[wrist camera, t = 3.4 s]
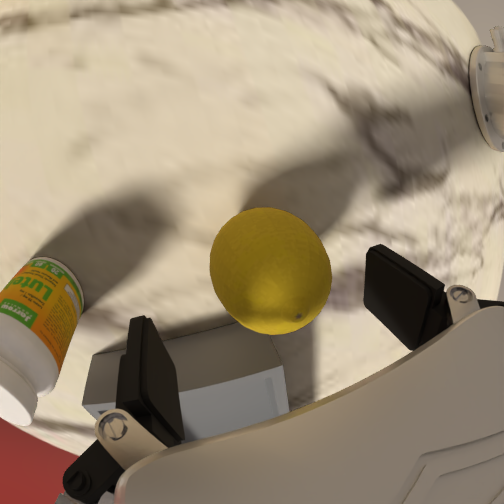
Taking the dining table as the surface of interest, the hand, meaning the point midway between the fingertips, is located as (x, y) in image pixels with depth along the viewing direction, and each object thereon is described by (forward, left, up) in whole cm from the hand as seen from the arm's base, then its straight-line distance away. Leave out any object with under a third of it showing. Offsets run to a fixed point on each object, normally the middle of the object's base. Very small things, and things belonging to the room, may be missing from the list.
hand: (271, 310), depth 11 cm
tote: (+15, -6, -7) cm, 17 cm away
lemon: (0, +1, -7) cm, 7 cm away
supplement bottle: (0, -13, -7) cm, 15 cm away
